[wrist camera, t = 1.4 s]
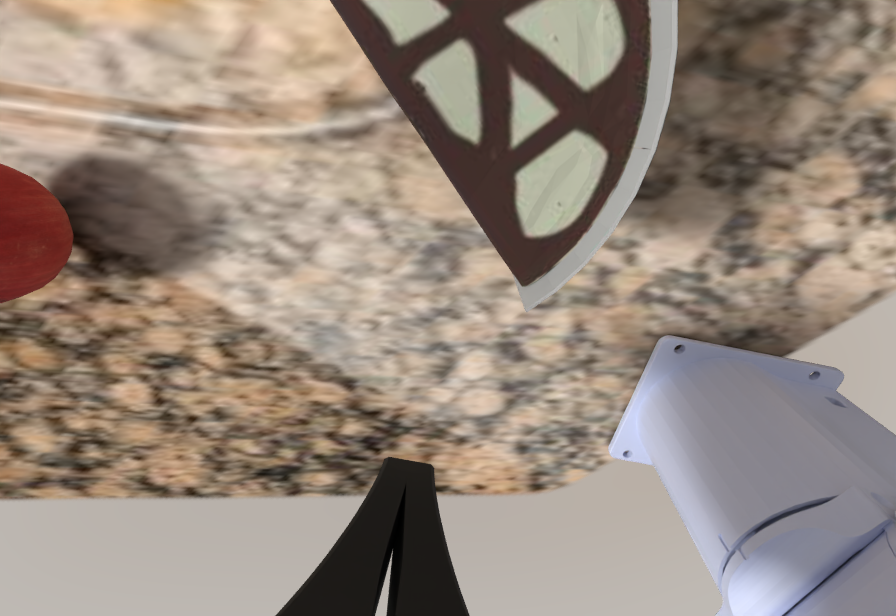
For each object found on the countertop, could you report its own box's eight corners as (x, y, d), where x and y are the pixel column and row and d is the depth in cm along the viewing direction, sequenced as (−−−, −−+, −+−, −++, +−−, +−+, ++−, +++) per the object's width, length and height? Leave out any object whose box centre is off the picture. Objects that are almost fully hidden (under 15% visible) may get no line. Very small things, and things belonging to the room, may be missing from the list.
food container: (631, 148, 17) (808, 179, 8) (506, 229, 19) (537, 329, 10) (468, -184, 13) (460, -813, 4) (329, -44, 15) (117, -287, 6)
